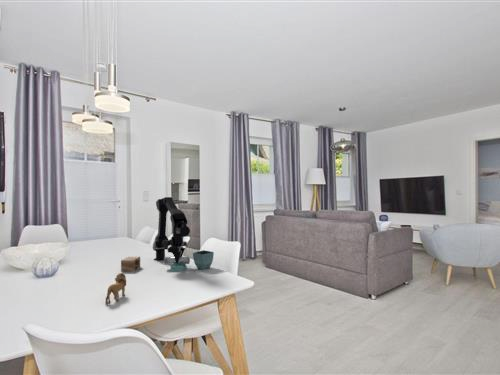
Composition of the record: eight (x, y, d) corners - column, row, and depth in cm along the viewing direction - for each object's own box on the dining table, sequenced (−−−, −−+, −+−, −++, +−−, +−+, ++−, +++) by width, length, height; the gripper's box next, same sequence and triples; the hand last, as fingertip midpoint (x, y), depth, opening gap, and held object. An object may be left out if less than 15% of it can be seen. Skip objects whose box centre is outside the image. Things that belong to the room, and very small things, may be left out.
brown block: (128, 266, 169) (128, 256, 169) (140, 266, 169) (140, 256, 169) (121, 271, 160) (121, 260, 160) (133, 271, 160) (133, 260, 160)
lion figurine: (115, 292, 126) (115, 272, 126) (128, 292, 126) (128, 271, 126) (102, 306, 111) (102, 282, 111) (117, 305, 112) (117, 282, 112)
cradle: (174, 267, 167) (174, 262, 168) (186, 267, 167) (186, 262, 167) (170, 270, 159) (169, 266, 160) (182, 270, 159) (182, 266, 159)
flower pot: (203, 270, 159) (203, 254, 159) (192, 268, 164) (192, 252, 164) (214, 267, 166) (214, 251, 166) (203, 265, 171) (203, 250, 171)
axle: (165, 263, 165) (166, 256, 166) (189, 263, 165) (190, 256, 166) (163, 264, 161) (163, 257, 162) (188, 264, 161) (188, 256, 162)
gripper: (169, 232, 173) (169, 258, 173) (158, 237, 155) (158, 266, 154) (187, 232, 173) (187, 258, 173) (178, 237, 154) (178, 266, 154)
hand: (178, 261), depth 163 cm, fingers closed on axle, 4 cm apart
